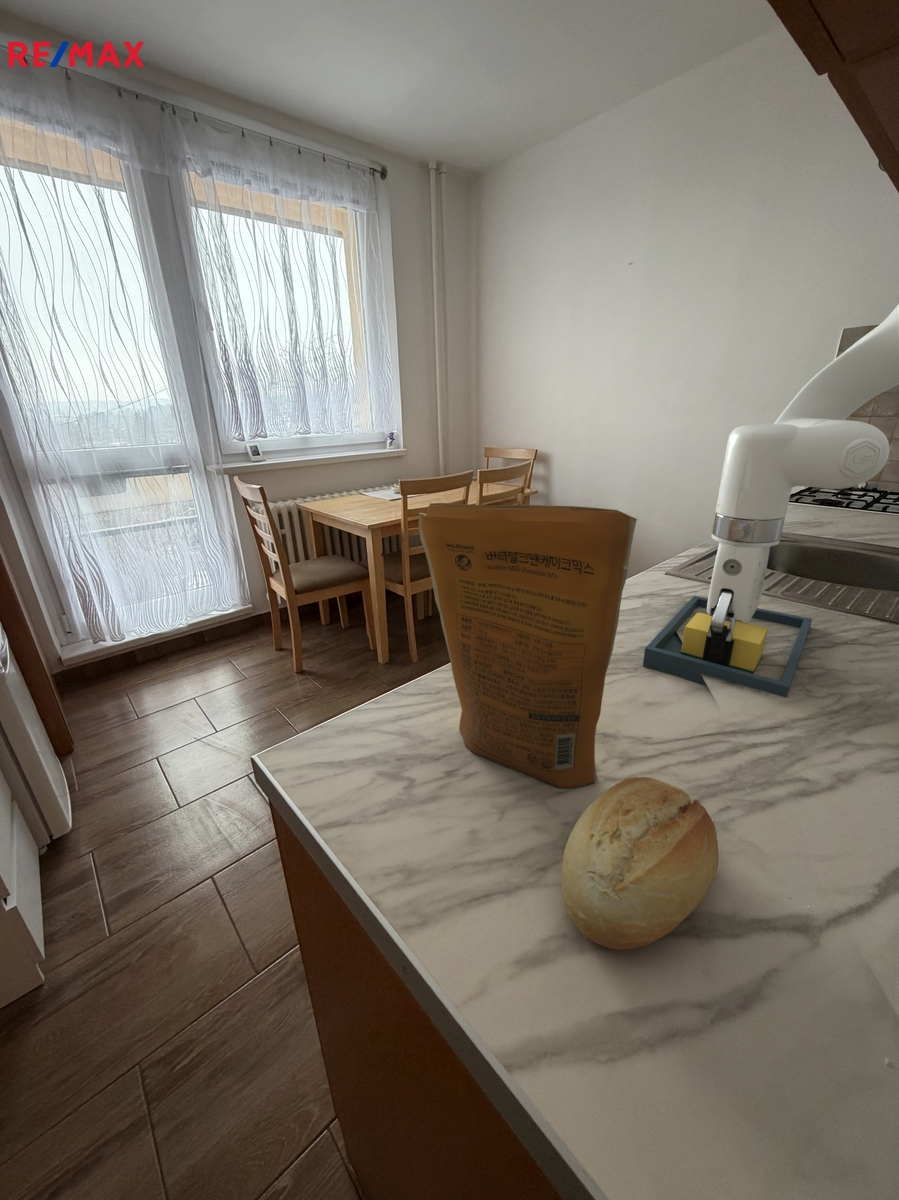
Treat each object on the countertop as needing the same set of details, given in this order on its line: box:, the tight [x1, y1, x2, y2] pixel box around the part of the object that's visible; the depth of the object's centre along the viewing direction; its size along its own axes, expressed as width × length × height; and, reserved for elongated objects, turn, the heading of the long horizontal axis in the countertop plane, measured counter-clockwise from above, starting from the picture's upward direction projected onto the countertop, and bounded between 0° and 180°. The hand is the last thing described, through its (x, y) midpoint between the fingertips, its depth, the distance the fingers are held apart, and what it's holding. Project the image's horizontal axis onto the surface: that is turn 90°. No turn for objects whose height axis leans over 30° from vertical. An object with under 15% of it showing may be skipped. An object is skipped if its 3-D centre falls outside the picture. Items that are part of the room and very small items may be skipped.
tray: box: [642, 595, 813, 698], centre depth 72 cm, size 24×17×3 cm
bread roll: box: [561, 776, 719, 951], centre depth 37 cm, size 10×15×8 cm, turn 135°
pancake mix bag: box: [418, 502, 638, 789], centre depth 47 cm, size 7×19×28 cm, turn 56°
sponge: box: [681, 612, 769, 674], centre depth 67 cm, size 6×9×5 cm, turn 50°
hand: (721, 652), depth 68 cm, fingers open, 6 cm apart
